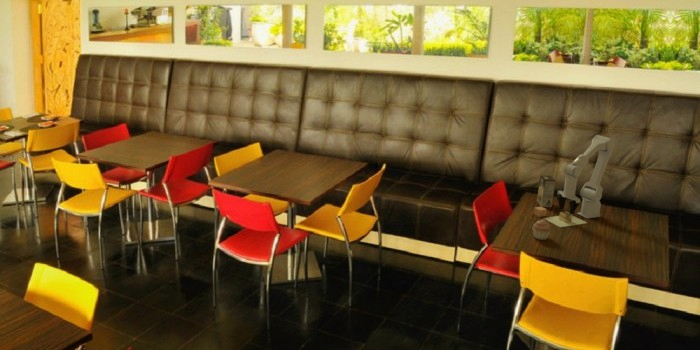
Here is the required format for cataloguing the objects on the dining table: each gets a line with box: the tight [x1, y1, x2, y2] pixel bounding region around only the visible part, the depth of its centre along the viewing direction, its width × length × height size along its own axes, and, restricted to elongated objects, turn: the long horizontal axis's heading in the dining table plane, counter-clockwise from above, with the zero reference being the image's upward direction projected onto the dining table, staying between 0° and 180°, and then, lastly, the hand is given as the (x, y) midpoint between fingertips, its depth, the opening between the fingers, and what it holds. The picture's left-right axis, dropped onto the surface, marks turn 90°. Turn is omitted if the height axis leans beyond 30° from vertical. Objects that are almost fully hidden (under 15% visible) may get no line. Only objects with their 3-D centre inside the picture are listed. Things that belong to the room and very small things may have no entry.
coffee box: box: [536, 175, 556, 208], centre depth 339 cm, size 9×6×16 cm
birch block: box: [558, 211, 573, 222], centre depth 316 cm, size 4×4×4 cm
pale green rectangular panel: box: [542, 215, 588, 228], centre depth 317 cm, size 18×13×1 cm
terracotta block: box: [533, 206, 547, 218], centre depth 324 cm, size 4×4×4 cm
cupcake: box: [531, 218, 552, 241], centre depth 293 cm, size 9×9×10 cm
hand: (566, 211), depth 316 cm, fingers open, 7 cm apart
